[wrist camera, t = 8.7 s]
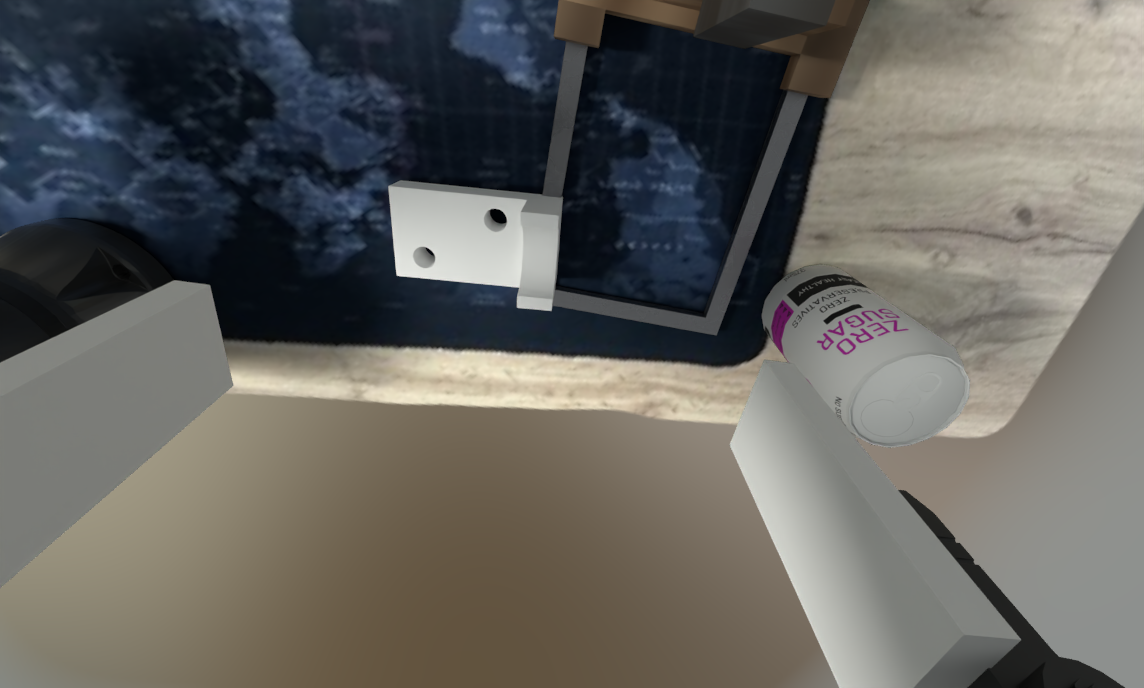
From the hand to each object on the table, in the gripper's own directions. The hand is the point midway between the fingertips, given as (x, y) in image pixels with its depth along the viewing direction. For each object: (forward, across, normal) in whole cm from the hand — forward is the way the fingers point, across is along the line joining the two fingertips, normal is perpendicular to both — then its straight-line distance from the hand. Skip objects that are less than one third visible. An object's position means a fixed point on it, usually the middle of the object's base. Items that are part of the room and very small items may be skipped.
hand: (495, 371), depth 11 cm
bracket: (+30, -5, -5) cm, 31 cm away
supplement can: (+29, +24, -7) cm, 38 cm away
